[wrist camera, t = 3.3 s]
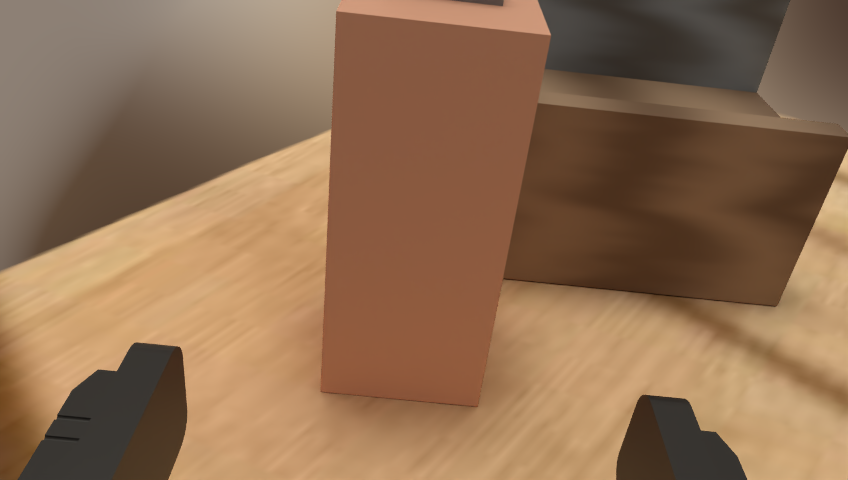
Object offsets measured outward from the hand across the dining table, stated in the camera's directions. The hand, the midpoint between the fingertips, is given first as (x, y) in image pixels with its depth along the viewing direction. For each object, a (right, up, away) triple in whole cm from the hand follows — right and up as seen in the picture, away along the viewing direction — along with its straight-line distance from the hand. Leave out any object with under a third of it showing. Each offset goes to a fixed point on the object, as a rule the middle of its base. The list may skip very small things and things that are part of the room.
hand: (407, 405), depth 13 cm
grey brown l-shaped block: (+8, +3, +21) cm, 23 cm away
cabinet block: (0, -1, +13) cm, 13 cm away
